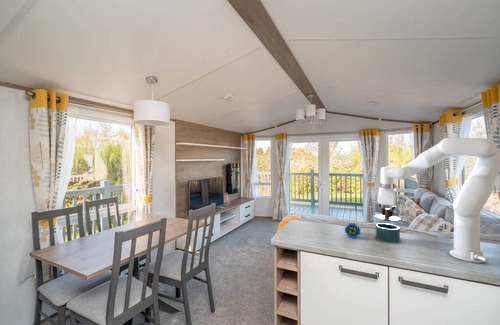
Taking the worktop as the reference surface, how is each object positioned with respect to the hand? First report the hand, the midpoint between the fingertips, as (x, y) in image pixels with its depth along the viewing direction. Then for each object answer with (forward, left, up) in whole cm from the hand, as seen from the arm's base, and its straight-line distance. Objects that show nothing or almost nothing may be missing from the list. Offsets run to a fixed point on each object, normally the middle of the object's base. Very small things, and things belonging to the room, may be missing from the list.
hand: (387, 215), depth 136 cm
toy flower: (+11, +17, -15) cm, 25 cm away
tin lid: (0, 0, -2) cm, 2 cm away
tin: (0, 0, -15) cm, 15 cm away
